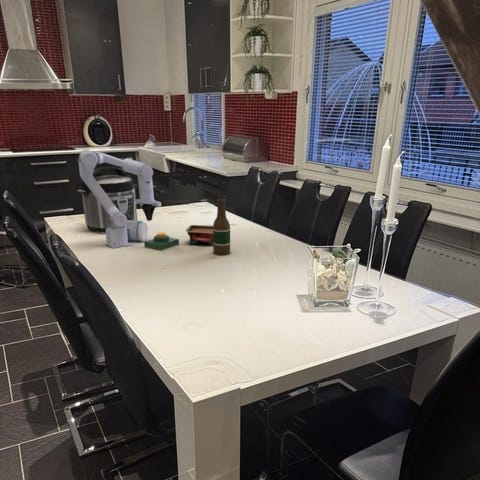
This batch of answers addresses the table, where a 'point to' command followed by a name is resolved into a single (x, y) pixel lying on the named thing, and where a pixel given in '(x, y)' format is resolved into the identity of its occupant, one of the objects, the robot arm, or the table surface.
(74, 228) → the table surface
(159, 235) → the button
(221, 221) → the beer bottle
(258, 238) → the table surface
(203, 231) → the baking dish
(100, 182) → the pressure cooker
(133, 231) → the supplement tub
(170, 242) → the button box
